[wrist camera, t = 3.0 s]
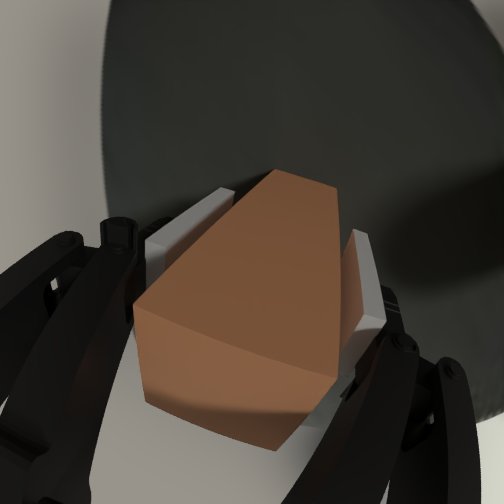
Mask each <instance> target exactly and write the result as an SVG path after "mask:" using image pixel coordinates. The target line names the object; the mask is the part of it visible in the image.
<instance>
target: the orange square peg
mask: <svg viewBox="0 0 504 504" xmlns="http://www.w3.org/2000/svg"><path fill="white" fill-rule="evenodd" d="M340 310H341V268H340V235H339V216H338V200H337V188H334V187H331V186H328V185H325V184H322V183H319V182H316V181H313V180H309V179H306V178H303V177H300V176H296V175H293V174H290V173H286V172H283V171H280V170H276V169H274V170H273V171H272V172H271V173H270V174H269V175H267V176H266V177H265V178H264V179H263V180H262V181H261V182H259V183H258V184H257V185H256V186H255V187H254V188H253V189H252V190H251V191H249V192H248V193H247V194H246V195H245V196H244V197H243V198H242V199H241V200H240V201H238V202H237V203H236V204H235V205H234V206H233V207H232V208H231V209H230V210H229V211H228V212H226V213H225V214H224V215H223V216H222V217H221V218H220V219H219V220H218V221H217V222H216V223H215V224H214V225H213V226H212V227H210V228H209V229H208V230H207V231H206V232H205V233H204V234H203V235H202V236H201V237H200V238H199V239H198V240H197V241H196V242H195V243H194V244H193V245H192V246H191V247H190V248H188V249H187V250H186V251H185V252H184V253H183V254H182V255H181V256H180V257H179V258H178V259H177V260H176V261H175V262H174V263H173V264H172V265H171V266H170V267H169V268H168V269H167V270H166V271H165V272H164V273H163V274H162V275H161V276H160V277H159V278H158V279H157V280H156V281H155V282H154V283H153V284H152V285H151V286H150V287H149V288H148V289H147V290H146V291H145V292H144V293H143V294H142V295H141V296H140V297H139V298H138V299H137V301H136V302H135V303H134V304H133V311H134V322H135V333H136V342H137V350H138V357H139V365H140V372H141V378H142V384H143V390H144V395H145V401H146V402H147V403H149V404H151V405H153V406H155V407H157V408H159V409H161V410H163V411H165V412H167V413H169V414H172V415H174V416H176V417H178V418H181V419H183V420H185V421H188V422H190V423H192V424H195V425H197V426H200V427H202V428H205V429H207V430H210V431H213V432H215V433H218V434H221V435H224V436H227V437H229V438H232V439H235V440H238V441H241V442H244V443H248V444H251V445H255V446H258V447H262V448H265V449H268V450H272V451H277V449H278V448H279V447H280V446H281V445H282V444H283V443H284V442H285V441H286V440H287V439H288V438H289V437H290V436H291V435H292V433H293V432H294V431H295V430H296V429H297V428H298V427H299V426H300V424H301V423H302V422H303V421H304V420H305V419H306V417H307V416H308V415H309V414H310V413H311V411H312V410H313V409H314V408H315V407H316V405H317V404H318V403H319V402H320V400H321V399H322V398H323V397H324V395H325V394H326V393H327V391H328V390H329V389H330V388H331V386H332V385H333V384H334V382H335V381H336V380H337V377H338V362H339V343H340Z"/></svg>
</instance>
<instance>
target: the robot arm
mask: <svg viewBox="0 0 504 504" xmlns="http://www.w3.org/2000/svg"><path fill="white" fill-rule="evenodd" d="M234 193H235V191H232V190H229V189H225V188H219V189H218V190H216V191H215V192H213V193H212V194H210V195H209V196H207V197H206V198H204V199H203V200H201V201H200V202H198V203H197V204H195V205H194V206H192V207H191V208H189V209H188V210H186V211H185V212H184V213H182V214H181V215H179V216H178V217H176V218H175V219H174V218H171V217H165V218H162V219H158V220H156V221H155V222H153V223H152V224H151V225H149V226H148V227H146V228H145V230H144V229H143V230H142V231H140V232H139V233H138V225H137V223H136V221H134V220H132V219H130V218H126V217H112V218H108V219H105V220H103V221H102V222H101V223H100V234H101V246H100V247H99V248H94V247H88V246H84V241H83V236H82V235H81V234H80V233H78V232H74V231H64V232H62V233H59V234H57V235H55V236H53V237H52V238H50V239H49V240H47V241H46V242H44V243H43V244H41V245H40V246H38V247H37V248H35V249H34V250H33V251H31V252H30V253H28V254H27V255H26V256H24V257H23V258H21V259H20V260H19V261H17V262H16V263H15V264H13V265H12V266H11V267H9V268H8V269H7V270H6V271H4V272H3V273H2V274H0V406H1V405H2V404H3V402H4V401H5V400H6V398H7V397H8V399H7V401H6V404H5V406H4V408H3V411H2V413H1V415H0V504H91V491H90V486H89V476H90V471H91V466H92V461H93V457H94V452H95V448H96V444H97V440H98V436H99V432H100V428H101V424H102V420H103V417H104V413H105V409H106V406H107V402H108V398H109V396H110V392H111V389H112V386H113V382H114V379H115V376H116V373H117V370H118V367H119V364H120V361H121V358H122V354H123V352H124V349H125V346H126V343H127V340H128V338H129V335H130V332H131V329H132V327H133V324H134V311H133V304H134V303H135V302H136V301H137V299H138V298H139V297H140V296H141V295H142V294H143V293H144V292H145V291H146V290H147V289H148V288H149V287H150V286H151V285H152V284H153V283H154V282H155V281H156V280H157V279H158V278H159V277H160V276H161V275H162V274H163V273H164V272H165V271H166V270H167V269H168V268H169V267H170V266H171V265H172V264H173V263H174V262H175V261H176V260H177V259H178V258H179V257H180V256H181V255H182V254H183V253H184V252H185V251H186V250H187V249H188V248H190V247H191V246H192V245H193V244H194V243H195V242H196V241H197V240H198V239H199V238H200V237H201V236H202V235H203V234H204V233H205V232H206V231H207V230H208V229H209V228H210V227H212V226H213V225H214V224H215V223H216V222H217V221H218V220H219V219H220V218H221V217H222V216H223V215H224V214H225V213H226V212H228V211H229V210H230V209H231V208H232V203H233V198H234ZM340 268H341V310H340V343H339V362H338V374H340V375H344V376H349V374H350V373H351V372H352V371H353V369H354V368H355V378H354V379H353V381H352V382H351V383H350V384H349V386H348V387H347V388H346V389H345V391H344V392H343V393H342V394H341V395H340V397H341V398H342V397H343V396H344V397H343V399H342V401H341V403H340V405H339V407H338V409H337V411H336V413H335V415H334V417H333V419H332V421H331V423H330V425H329V427H328V429H327V431H326V432H325V434H324V436H323V438H322V440H321V442H320V443H319V445H318V447H317V448H316V450H315V452H314V454H313V455H312V457H311V459H310V460H309V462H308V464H307V465H306V467H305V468H304V470H303V472H302V473H301V475H300V476H299V478H298V479H297V481H296V482H295V484H294V485H293V487H292V488H291V490H290V492H289V493H288V494H287V496H286V497H285V499H284V500H283V501H282V503H281V504H380V502H381V500H382V498H383V495H384V493H385V490H386V488H387V485H388V482H389V480H390V482H389V490H388V497H387V503H386V504H481V468H480V454H479V445H478V436H477V428H476V422H475V416H474V410H473V404H472V399H471V394H470V390H469V385H468V381H467V377H466V374H465V371H464V369H463V368H462V366H461V365H460V364H459V363H458V362H457V361H456V360H454V359H452V358H450V357H443V358H441V359H440V360H439V361H438V362H437V363H436V365H435V364H433V363H431V362H429V361H427V360H425V359H424V358H422V357H420V356H419V354H420V353H419V347H418V345H417V343H416V342H415V340H414V339H413V338H412V337H411V336H409V335H408V334H406V333H405V331H404V326H403V322H402V318H401V314H400V309H399V307H398V302H397V298H396V296H395V294H394V293H393V292H392V290H391V289H390V288H388V287H385V286H382V285H380V284H379V280H378V275H377V271H376V266H375V262H374V258H373V254H372V250H371V246H370V242H369V238H368V235H367V233H364V232H361V231H358V230H355V229H353V231H352V233H351V236H350V238H349V241H348V243H347V246H346V248H345V251H344V253H343V255H342V258H341V260H340ZM55 278H56V280H57V285H58V288H56V289H55V290H52V287H51V283H50V282H51V281H52V280H54V279H55ZM433 414H434V422H433V423H432V424H430V417H431V416H432V415H433Z"/></svg>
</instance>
